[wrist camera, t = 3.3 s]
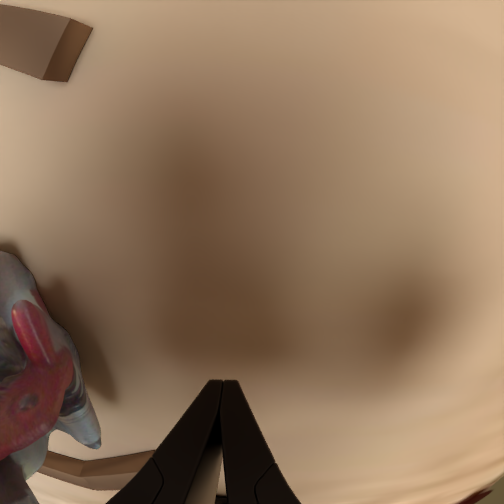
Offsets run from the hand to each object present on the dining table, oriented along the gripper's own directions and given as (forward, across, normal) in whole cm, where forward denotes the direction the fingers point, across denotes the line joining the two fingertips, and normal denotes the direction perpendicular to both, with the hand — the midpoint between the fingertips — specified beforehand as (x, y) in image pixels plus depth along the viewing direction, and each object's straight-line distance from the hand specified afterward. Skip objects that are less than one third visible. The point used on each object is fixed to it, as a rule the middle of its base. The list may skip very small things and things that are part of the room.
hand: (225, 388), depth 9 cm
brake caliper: (+3, +11, +1) cm, 11 cm away
